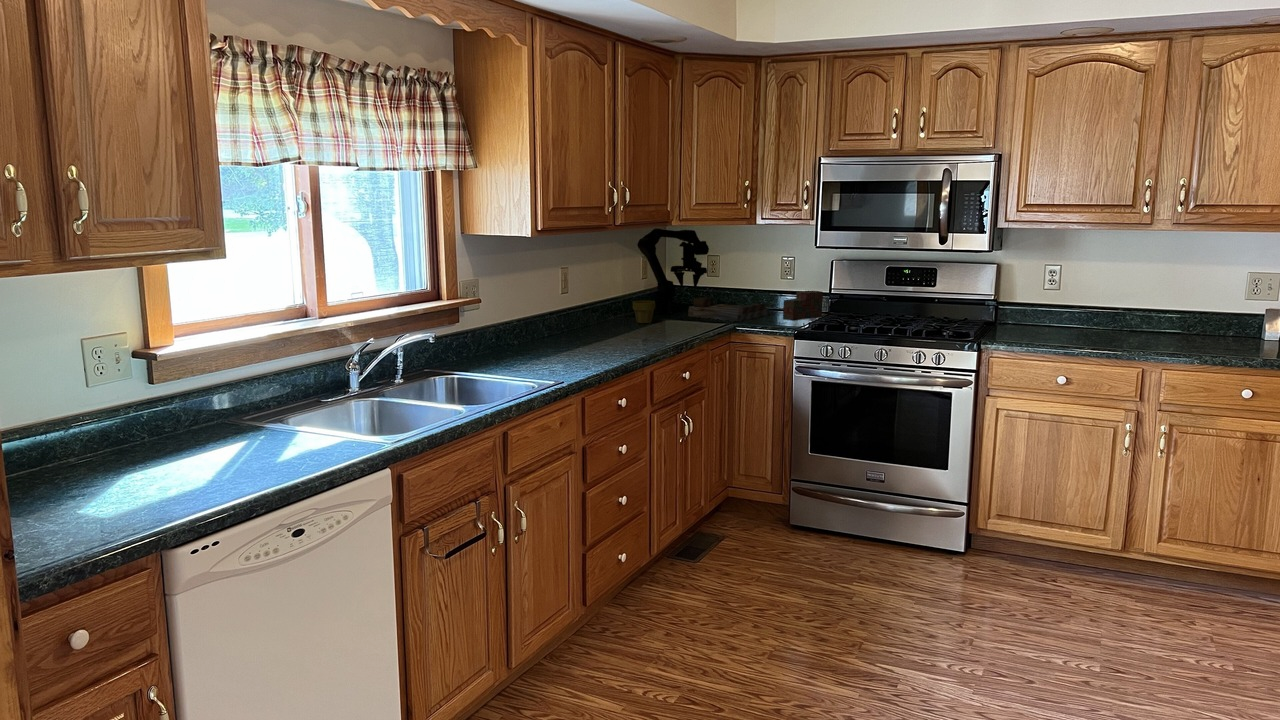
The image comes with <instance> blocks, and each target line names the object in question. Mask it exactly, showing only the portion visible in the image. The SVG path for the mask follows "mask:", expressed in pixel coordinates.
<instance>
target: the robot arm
mask: <svg viewBox="0 0 1280 720" xmlns="http://www.w3.org/2000/svg"><path fill="white" fill-rule="evenodd" d="M661 238H668V239H669V238H670V239H677V240H679V241H681V243H680V244H679V245H678V246H679V247H682V257H681V261H682V265H672V266H671V267H670V273H671V272H672V274H674V275H675V277H676V279H677V281H678V283H679V285H680V287H684V276H685V272H690V273H691V272H692V283H693V288H695V289H696V288H697V286H698V283H699V281H700V280H701V277H702V276H704V275H705V274H708V268H707V267H703V266H702V265H703V263H702V262H700V261H698V260H697V257H696V256H706V255H708V254H709V251H710V249H709V245H708V243H707V240H700V238H699V237H698V235H697V232H696V230H694V229H693V230H692V229H681V230H671V229H662V228H656V227H655V228H653V229H652V230H651V231H649V232H648V233H647V234H645V235H644V236H643V237H641V238H640V239H639V240H638V241H637V243H636V245H637V248H638V250H639V251H640V252H641V254H642V255H643V256H645V258H646V260H647V262H648V264H649V266H650V269H651V271H652V272H653V276H654V277H655V279H656V282H657V285H656V286H657V291H656V293H655V295H653V297H654V301H656V311H654V314H658V315H669V314H673V311H671V302H673V301H674V297H675V295H676V293H677V292H676V287H675V284H674V282H673V280H669V279H668V278H667V277H666V274H665V272H664V270H663V267H662V265H661V263H660V261H659V258H658V255H657V254H656V253H657V248H656V247H657V246H656V245H657V244H658V243H659V241H660V239H661Z"/></svg>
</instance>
